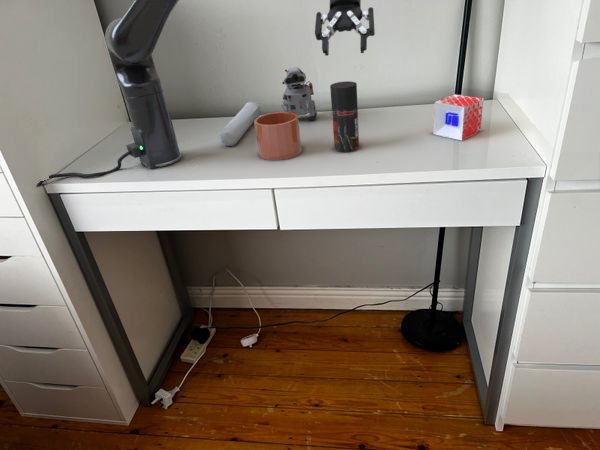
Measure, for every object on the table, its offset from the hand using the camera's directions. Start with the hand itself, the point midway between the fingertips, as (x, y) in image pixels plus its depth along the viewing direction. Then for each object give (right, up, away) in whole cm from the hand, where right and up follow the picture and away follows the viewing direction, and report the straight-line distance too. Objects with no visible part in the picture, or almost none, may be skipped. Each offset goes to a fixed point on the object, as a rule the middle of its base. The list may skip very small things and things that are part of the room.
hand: (344, 52), depth 107 cm
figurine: (-11, -11, +23) cm, 28 cm away
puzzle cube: (+28, -19, +2) cm, 34 cm away
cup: (-15, -23, +3) cm, 28 cm away
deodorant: (+1, -23, +1) cm, 23 cm away
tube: (-27, -15, +20) cm, 37 cm away
